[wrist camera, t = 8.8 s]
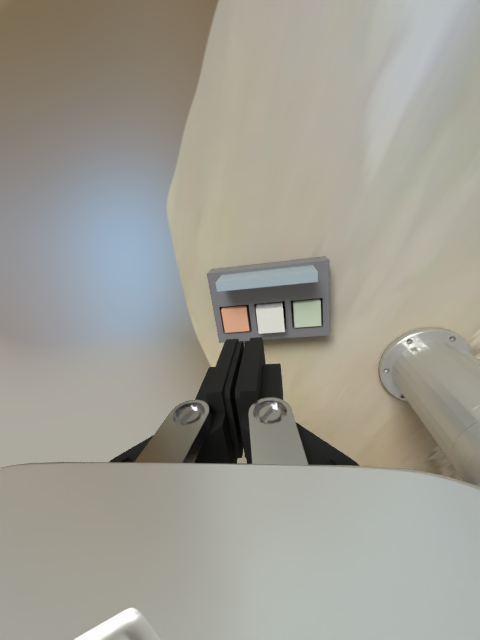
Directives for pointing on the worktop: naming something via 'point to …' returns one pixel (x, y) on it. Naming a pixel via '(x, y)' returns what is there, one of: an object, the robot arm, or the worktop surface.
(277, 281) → the keypad
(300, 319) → the sage key
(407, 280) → the worktop surface
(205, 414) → the robot arm
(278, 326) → the white key
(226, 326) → the terracotta key
